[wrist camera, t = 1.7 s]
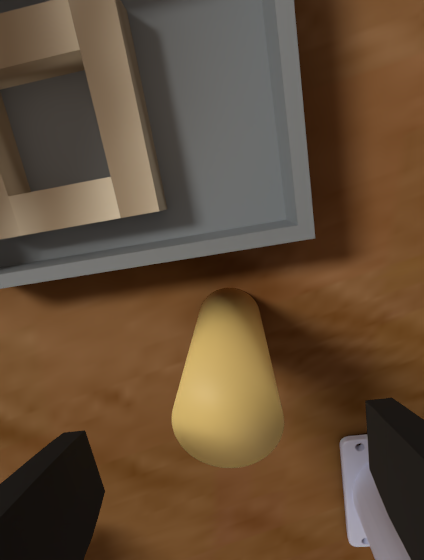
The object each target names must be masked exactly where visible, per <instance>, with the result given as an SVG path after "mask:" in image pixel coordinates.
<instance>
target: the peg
mask: <svg viewBox="0 0 424 560" xmlns="http://www.w3.org/2000/svg"><path fill="white" fill-rule="evenodd" d="M172 426H173V431H174V434H175V436H176V438H177V440H178V442H179V443H180V445H181V446H182V447H183V448H184V449H185V450H186V451H187V452H188V453H189V454H190V455H191V456H193V457H194V458H196V459H198V460H199V461H201V462H204V463H206V464H208V465H212V466H216V467H221V468H238V467H244V466H248V465H251V464H254V463H256V462H258V461H260V460H262V459H263V458H265V457H266V456H267V455H269V454H270V453H271V452H272V451H273V450H274V448H275V447H276V446H277V444H278V443H279V441H280V439H281V436H282V433H283V429H284V416H283V411H282V407H281V402H280V398H279V394H278V389H277V385H276V381H275V376H274V372H273V368H272V363H271V359H270V354H269V350H268V346H267V341H266V337H265V333H264V328H263V324H262V320H261V315H260V311H259V307H258V305H257V303H256V301H255V300H254V299H253V298H252V297H251V296H250V295H249V294H248V293H246V292H244V291H242V290H240V289H236V288H223V289H219V290H217V291H215V292H213V293H211V294H210V295H209V296H208V297H207V298H206V299H205V300H204V302H203V303H202V306H201V308H200V312H199V316H198V319H197V323H196V326H195V330H194V334H193V337H192V341H191V345H190V348H189V352H188V356H187V359H186V363H185V367H184V370H183V374H182V378H181V381H180V385H179V389H178V392H177V396H176V400H175V403H174V407H173V411H172Z"/></svg>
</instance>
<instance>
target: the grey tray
mask: <svg viewBox="0 0 424 560" xmlns="http://www.w3.org/2000/svg"><path fill="white" fill-rule="evenodd" d="M46 1H50V0H0V13H4V12H8V11H12V10H15V9H19V8H23V7H27V6H31V5H35V4H39V3H43V2H46ZM121 2H122V3H123V5H124V7H125V8H126V10H127V14H128V19H129V24H130V29H131V33H132V38H133V43H134V48H135V53H136V58H137V63H138V68H139V73H140V77H141V82H142V87H143V92H144V97H145V102H146V107H147V112H148V117H149V121H150V126H151V131H152V136H153V141H154V146H155V151H156V156H157V161H158V165H159V170H160V175H161V180H162V185H163V190H164V195H165V200H166V205H167V209H166V210H162V211H158V212H152V213H147V214H141V215H135V216H130V217H124V218H119V219H113V220H107V221H102V222H96V223H90V224H85V225H79V226H73V227H68V228H62V229H56V230H51V231H45V232H40V233H34V234H28V235H23V236H17V237H11V238H6V239H0V289H1V288H7V287H14V286H20V285H26V284H33V283H39V282H45V281H51V280H58V279H64V278H70V277H76V276H83V275H89V274H95V273H101V272H108V271H114V270H120V269H126V268H133V267H139V266H145V265H152V264H158V263H164V262H170V261H177V260H183V259H189V258H195V257H202V256H208V255H214V254H220V253H227V252H233V251H239V250H246V249H252V248H258V247H264V246H271V245H277V244H283V243H289V242H296V241H302V240H308V239H314V238H315V229H314V218H313V207H312V196H311V185H310V174H309V163H308V152H307V141H306V129H305V118H304V107H303V96H302V85H301V74H300V63H299V52H298V41H297V29H296V18H295V7H294V0H121ZM0 92H1V96H2V99H3V102H4V105H5V109H6V112H7V115H8V118H9V122H10V125H11V128H12V131H13V135H14V138H15V141H16V144H17V148H18V151H19V154H20V157H21V161H22V164H23V167H24V170H25V174H26V177H27V180H28V183H29V187H30V190H31V192H34V191H39V190H44V189H49V188H54V187H60V186H65V185H70V184H75V183H80V182H86V181H91V180H96V179H101V178H107V177H111V176H110V172H109V168H108V163H107V159H106V155H105V151H104V147H103V143H102V139H101V135H100V131H99V126H98V122H97V118H96V114H95V110H94V106H93V102H92V98H91V93H90V89H89V85H88V81H87V77H86V73H85V70H83V71H78V72H74V73H70V74H65V75H61V76H57V77H52V78H48V79H44V80H39V81H35V82H31V83H26V84H22V85H18V86H13V87H9V88H5V89H0Z"/></svg>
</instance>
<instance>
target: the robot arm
mask: <svg viewBox="0 0 424 560" xmlns="http://www.w3.org/2000/svg"><path fill="white" fill-rule="evenodd" d="M366 419H367V434H365V435H355V436H347V437H344V438H342V439H341V441H340V455H341V467H342V479H343V491H344V503H345V514H346V526H347V537H348V540H349V542H350V544H351V545H352V546H355V547H366V546H370V547H371V550H372V553H373V555H374V558H375V560H424V420H423V419H422V418H420V417H419V416H417V415H416V414H415V413H413V412H412V411H410V410H409V409H407V408H406V407H405V406H403V405H402V404H400V403H399V402H397V401H396V400H394V399H393V398H386V399H376V400H367V401H366ZM359 443H361V445H359V446H356V445H357V444H359ZM104 493H105V490H104V487H103V484H102V481H101V478H100V475H99V472H98V468H97V465H96V462H95V459H94V456H93V453H92V450H91V447H90V444H89V441H88V438H87V435H86V432H85V431H76V432H67V433H63V434H61V435H60V436H59V437H57V438H56V439H55V440H53V441H52V442H51V443H49V444H48V445H47V446H46V447H44V448H43V449H42V450H41V451H40V452H38V453H37V454H36V455H35V456H33V457H32V458H31V459H30V460H29V461H27V462H26V463H25V464H24V465H23V466H21V467H20V468H19V469H18V470H17V471H15V472H14V473H13V474H12V475H11V476H9V477H8V478H7V479H6V480H5V481H3V482H2V483H1V484H0V560H83V559H84V557H85V554H86V552H87V549H88V546H89V544H90V541H91V539H92V536H93V532H94V529H95V526H96V522H97V519H98V515H99V512H100V508H101V504H102V500H103V497H104Z"/></svg>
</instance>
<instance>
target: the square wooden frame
mask: <svg viewBox="0 0 424 560" xmlns="http://www.w3.org/2000/svg"><path fill="white" fill-rule="evenodd" d="M83 70H85V73H86V77H87V81H88V85H89V89H90V93H91V98H92V102H93V106H94V110H95V114H96V118H97V122H98V126H99V131H100V135H101V139H102V143H103V147H104V151H105V155H106V159H107V163H108V168H109V172H110V176H111V177H107V178H101V179H96V180H91V181H86V182H80V183H75V184H70V185H65V186H60V187H54V188H49V189H44V190H39V191H34V192H31V190H30V187H29V183H28V180H27V177H26V174H25V170H24V167H23V164H22V161H21V157H20V154H19V151H18V148H17V144H16V141H15V138H14V135H13V131H12V128H11V125H10V122H9V118H8V115H7V112H6V109H5V105H4V102H3V99H2V96H1V92H0V239H6V238H11V237H17V236H23V235H28V234H34V233H40V232H45V231H51V230H56V229H62V228H68V227H73V226H79V225H85V224H90V223H96V222H102V221H107V220H113V219H119V218H124V217H130V216H135V215H141V214H147V213H152V212H158V211H162V210H166V209H167V205H166V200H165V195H164V190H163V185H162V180H161V175H160V170H159V165H158V161H157V156H156V151H155V146H154V141H153V136H152V131H151V126H150V121H149V117H148V112H147V107H146V102H145V97H144V92H143V87H142V82H141V77H140V73H139V68H138V63H137V58H136V53H135V48H134V43H133V38H132V33H131V29H130V24H129V19H128V14H127V10H126V8H125V7H124V5H123V3H122V2H121V0H50V1H46V2H43V3H39V4H35V5H31V6H27V7H23V8H19V9H15V10H12V11H8V12H4V13H0V89H5V88H9V87H13V86H18V85H22V84H26V83H31V82H35V81H39V80H44V79H48V78H52V77H57V76H61V75H65V74H70V73H74V72H78V71H83Z"/></svg>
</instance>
